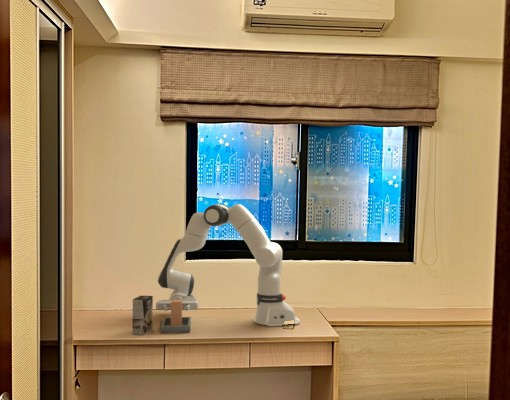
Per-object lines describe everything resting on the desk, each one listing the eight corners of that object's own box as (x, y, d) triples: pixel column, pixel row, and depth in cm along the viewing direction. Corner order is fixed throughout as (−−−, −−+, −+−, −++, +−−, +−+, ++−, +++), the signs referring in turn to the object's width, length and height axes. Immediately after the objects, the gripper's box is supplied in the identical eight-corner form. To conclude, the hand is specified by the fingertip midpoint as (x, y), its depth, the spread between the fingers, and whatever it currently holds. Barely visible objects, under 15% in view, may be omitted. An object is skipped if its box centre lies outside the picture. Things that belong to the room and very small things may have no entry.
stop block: (181, 324, 249) (182, 299, 249) (181, 327, 244) (181, 301, 244) (171, 324, 249) (171, 299, 248) (170, 327, 244) (170, 301, 244)
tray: (190, 323, 255) (190, 317, 255) (189, 332, 239) (189, 326, 239) (163, 323, 254) (163, 317, 254) (161, 333, 238) (161, 326, 238)
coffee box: (145, 335, 234) (145, 299, 234) (131, 334, 235) (131, 299, 235) (153, 329, 243) (153, 295, 242) (140, 328, 244) (140, 294, 244)
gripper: (156, 295, 259) (154, 302, 245) (198, 295, 261) (197, 302, 247) (156, 308, 259) (154, 315, 246) (198, 308, 261) (197, 315, 248)
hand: (176, 308), depth 246 cm, fingers open, 8 cm apart
